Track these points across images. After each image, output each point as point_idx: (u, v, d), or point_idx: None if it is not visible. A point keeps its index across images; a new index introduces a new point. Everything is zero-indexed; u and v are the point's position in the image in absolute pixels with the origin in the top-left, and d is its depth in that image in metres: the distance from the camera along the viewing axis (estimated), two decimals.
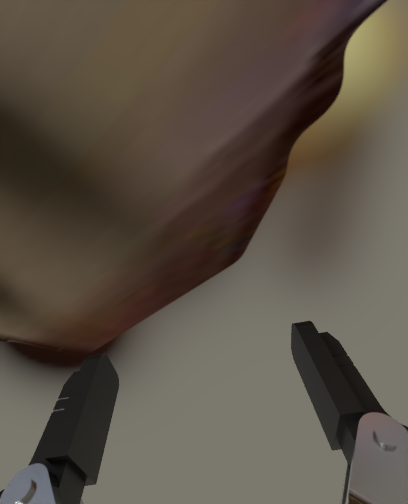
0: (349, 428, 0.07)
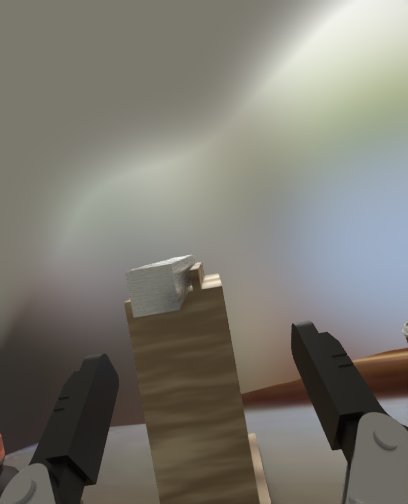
0: (349, 428, 0.07)
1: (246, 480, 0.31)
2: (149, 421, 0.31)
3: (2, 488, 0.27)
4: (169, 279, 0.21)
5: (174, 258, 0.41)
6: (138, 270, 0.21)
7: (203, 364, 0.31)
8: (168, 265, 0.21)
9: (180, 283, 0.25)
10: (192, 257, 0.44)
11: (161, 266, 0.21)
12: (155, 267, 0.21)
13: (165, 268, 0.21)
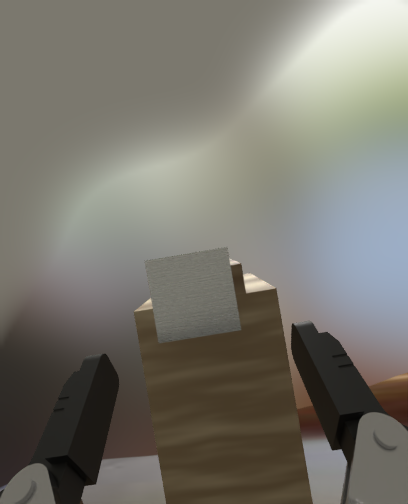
0: (349, 428, 0.07)
1: None
2: (169, 485, 0.21)
3: None
4: (223, 275, 0.12)
5: None
6: (168, 259, 0.12)
7: (249, 402, 0.21)
8: (222, 250, 0.12)
9: None
10: None
11: (209, 252, 0.12)
12: (198, 253, 0.12)
13: (216, 255, 0.12)
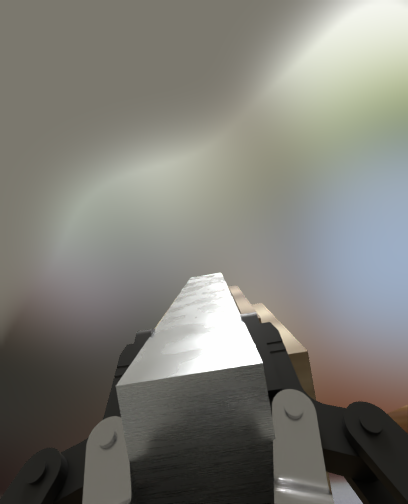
0: None
1: None
2: None
3: None
4: (256, 413, 0.07)
5: (199, 282, 0.26)
6: (157, 382, 0.07)
7: None
8: (253, 368, 0.07)
9: None
10: None
11: (230, 371, 0.07)
12: (211, 374, 0.07)
13: (243, 378, 0.07)
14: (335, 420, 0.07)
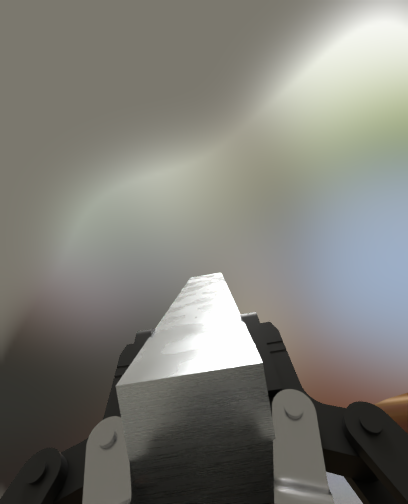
0: None
1: None
2: None
3: None
4: (256, 413, 0.07)
5: (199, 282, 0.26)
6: (157, 382, 0.07)
7: None
8: (253, 368, 0.07)
9: None
10: None
11: (230, 371, 0.07)
12: (211, 374, 0.07)
13: (243, 378, 0.07)
14: (335, 420, 0.07)
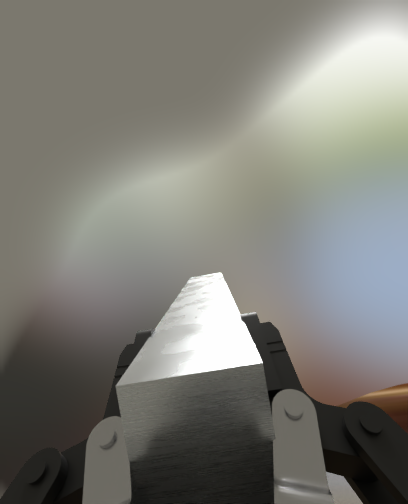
0: None
1: None
2: None
3: None
4: (256, 413, 0.07)
5: (199, 282, 0.26)
6: (157, 382, 0.07)
7: None
8: (253, 368, 0.07)
9: None
10: None
11: (231, 371, 0.07)
12: (211, 374, 0.07)
13: (243, 378, 0.07)
14: (335, 420, 0.07)
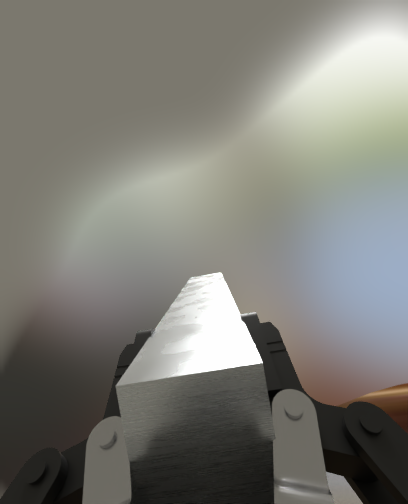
0: None
1: None
2: None
3: None
4: (256, 413, 0.07)
5: (199, 282, 0.26)
6: (157, 382, 0.07)
7: None
8: (253, 368, 0.07)
9: None
10: None
11: (231, 371, 0.07)
12: (211, 374, 0.07)
13: (243, 378, 0.07)
14: (335, 420, 0.07)
